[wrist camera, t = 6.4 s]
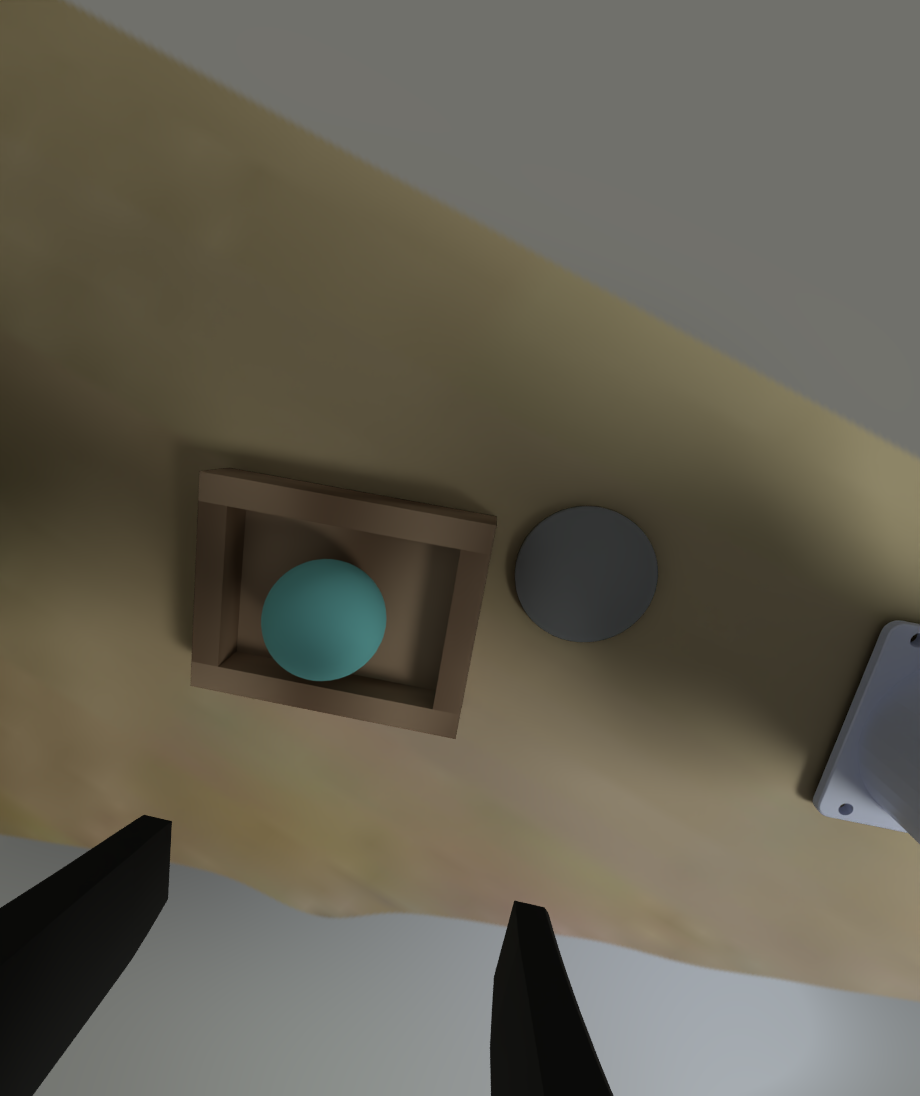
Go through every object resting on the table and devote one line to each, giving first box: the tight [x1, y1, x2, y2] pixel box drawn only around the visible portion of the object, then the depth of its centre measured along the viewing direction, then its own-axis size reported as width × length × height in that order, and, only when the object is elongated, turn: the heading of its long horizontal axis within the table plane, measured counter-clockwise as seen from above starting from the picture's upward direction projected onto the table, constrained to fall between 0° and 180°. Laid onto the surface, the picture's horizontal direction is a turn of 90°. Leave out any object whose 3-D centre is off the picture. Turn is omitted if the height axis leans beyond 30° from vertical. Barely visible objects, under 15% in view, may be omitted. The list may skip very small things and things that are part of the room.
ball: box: [261, 559, 386, 681], centre depth 16 cm, size 4×4×4 cm
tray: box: [191, 468, 497, 739], centre depth 18 cm, size 10×8×2 cm
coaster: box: [515, 506, 658, 642], centre depth 17 cm, size 5×5×1 cm
